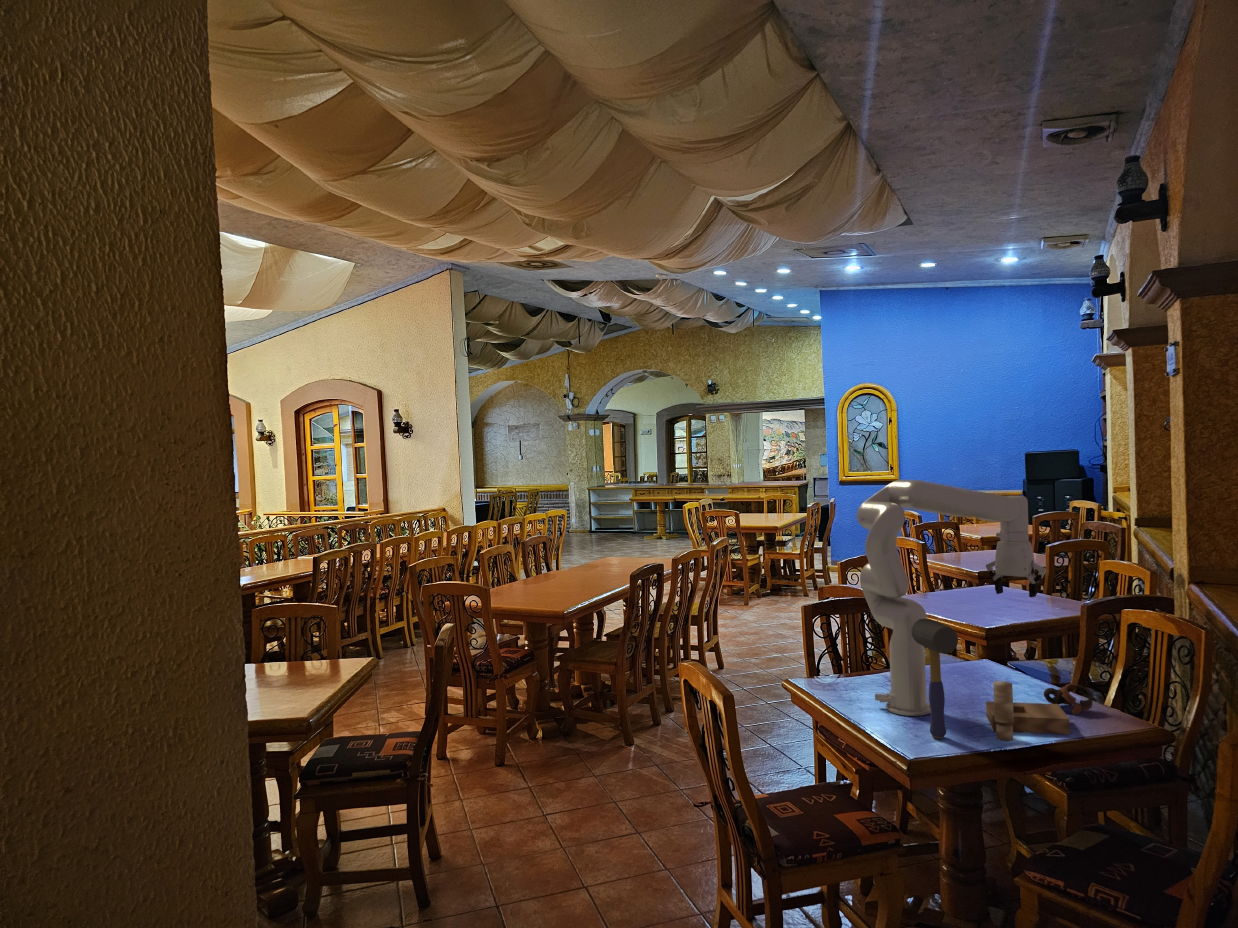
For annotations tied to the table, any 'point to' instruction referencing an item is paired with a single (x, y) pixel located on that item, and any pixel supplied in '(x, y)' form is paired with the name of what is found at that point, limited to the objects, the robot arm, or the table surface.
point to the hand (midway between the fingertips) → (1015, 594)
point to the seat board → (1034, 718)
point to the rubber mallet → (935, 666)
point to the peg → (1003, 710)
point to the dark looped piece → (1069, 697)
